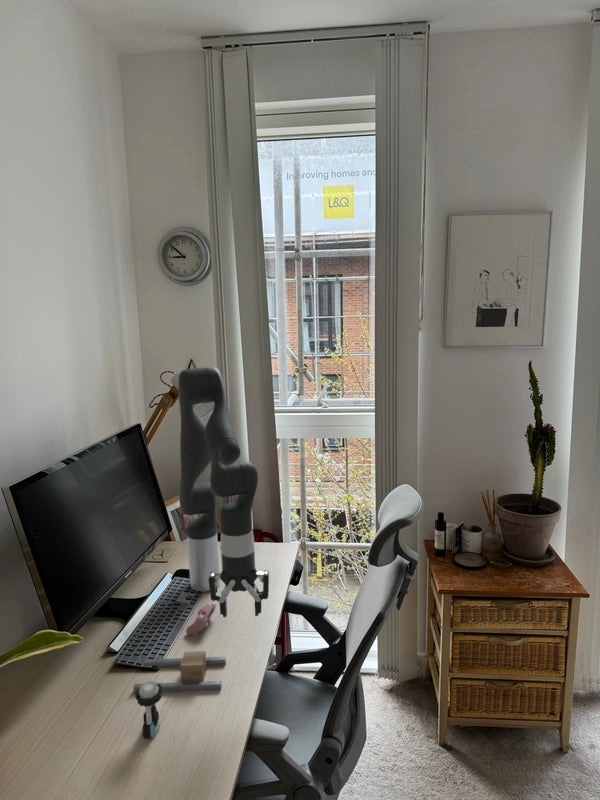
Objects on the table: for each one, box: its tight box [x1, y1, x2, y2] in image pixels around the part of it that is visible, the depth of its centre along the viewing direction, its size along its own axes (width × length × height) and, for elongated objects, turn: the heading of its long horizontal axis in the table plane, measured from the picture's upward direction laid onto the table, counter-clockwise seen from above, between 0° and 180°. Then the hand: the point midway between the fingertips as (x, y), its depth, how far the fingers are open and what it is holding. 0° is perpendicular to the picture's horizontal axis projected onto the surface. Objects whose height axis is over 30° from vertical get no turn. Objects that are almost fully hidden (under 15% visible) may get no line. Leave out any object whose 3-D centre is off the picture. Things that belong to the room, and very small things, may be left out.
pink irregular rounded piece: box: [185, 602, 217, 636], centre depth 146 cm, size 10×5×7 cm, turn 168°
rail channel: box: [132, 656, 227, 694], centre depth 127 cm, size 10×20×2 cm, turn 91°
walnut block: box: [179, 650, 207, 682], centre depth 126 cm, size 5×5×5 cm
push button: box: [134, 680, 163, 739], centre depth 111 cm, size 7×5×10 cm
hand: (241, 614), depth 124 cm, fingers open, 7 cm apart
